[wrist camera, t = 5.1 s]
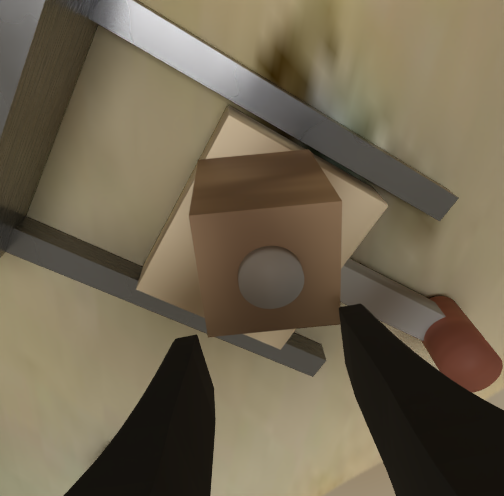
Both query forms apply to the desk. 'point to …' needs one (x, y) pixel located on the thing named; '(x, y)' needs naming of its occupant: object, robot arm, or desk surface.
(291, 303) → the block
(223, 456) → the desk surface
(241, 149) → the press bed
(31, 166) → the press frame
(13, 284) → the desk surface
